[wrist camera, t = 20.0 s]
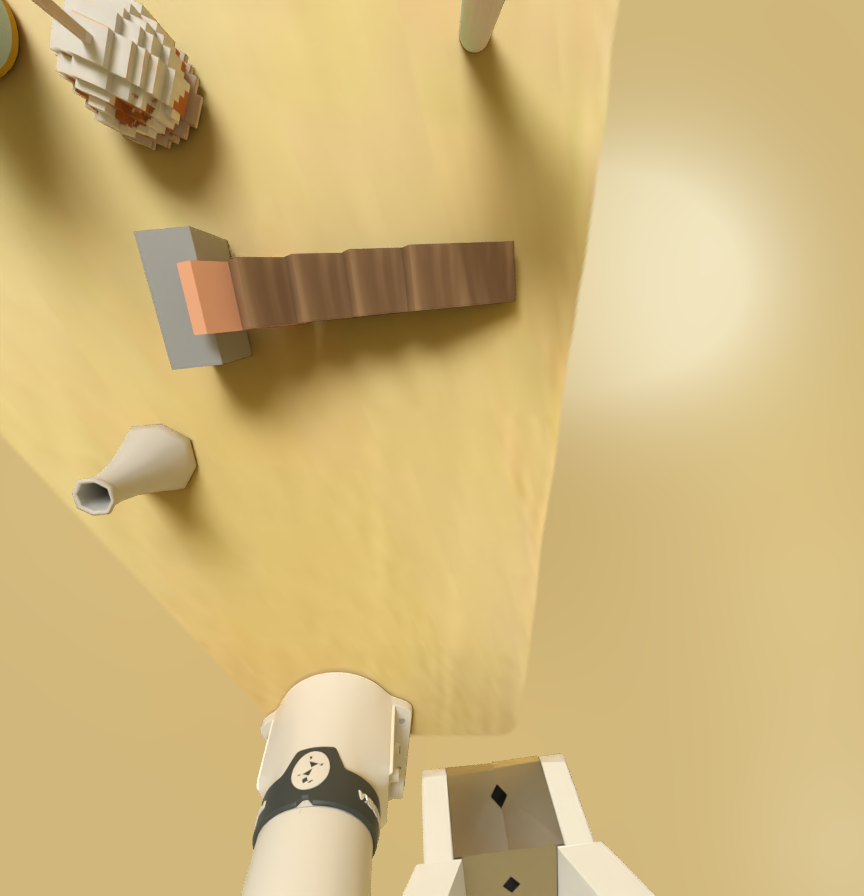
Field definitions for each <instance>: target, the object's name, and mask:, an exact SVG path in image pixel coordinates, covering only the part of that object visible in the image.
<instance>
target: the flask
mask: <svg viewBox="0 0 864 896" xmlns="http://www.w3.org/2000/svg"><path fill="white" fill-rule="evenodd" d="M196 466H197V465H196V461H195V457H194V453H193V449H192V445H191V441H190V439H189V438H187V437H185V436H184V435H182V434H180V433H178V432H176V431H174V430H172V429H170V428H168V427H167V426H165V425H163V424H157V425H145V426H133V427H132V428H131V429H130V431H129V433H128V434H127V436H126V438H125V440H124V441H123V443H122V445H121V447H120V448H119V450H118V451H117V453H116V454H115V456H114V457H113V459H112V460H111V462H110V463H109V464H108V465H107V466H106V467H105V468H104V469H103V470H102V471H101V472H100V473H99V474H98V475H96V476H94V477H92V478H89V479H80V480H78V481H77V484H76V486H75V488H74V490H73V492H72V495H73V498H74V501H75V503H76V506H77V508H78V509H80V510H82V511H84V512H87V513H89V514H91V515H104V514H110V513H111V512H112V511H113V508H114V506H115V505H116V504H118V503H119V502H121V501H123V500H126V499H128V498H131V497H134V496H137V495H142V494H148V493H154V492H160V491H169V490H177V489H184V488H185V487H186V486H187V484H188V482H189V480H190V478H191V476H192V474H193V472H194V470H195V468H196Z"/></svg>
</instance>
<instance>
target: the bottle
mask: <svg viewBox="0 0 864 896" xmlns="http://www.w3.org/2000/svg"><path fill="white" fill-rule="evenodd" d="M18 43H19V37H18V31H17V26H16V22H15V19H14V16H13V14H12V12H11V10H10V8H9V6H8V4H7V2H6V0H0V77H2V76H4V75H5V74H6V73H7V72H8V71H9V70H10V69H11V68H12V66H13V65H14V63H15V60H16V57H17V55H18Z"/></svg>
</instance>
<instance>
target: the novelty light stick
mask: <svg viewBox="0 0 864 896" xmlns="http://www.w3.org/2000/svg"><path fill="white" fill-rule="evenodd" d="M504 1H505V0H462V6H461V16H460V26H459V39H460V42H461V44H462V46H463V47H464V48H465V49H466V50H467V51H469V52H473V53H476V52H480V51H482V50H483V49H484V48H485V47H486V45H487V44H488V42H489V39H490V37H491V34H492V31H493V29H494V26H495V24H496V21H497V19H498V16H499V14H500V11H501V9H502V6H503V4H504Z"/></svg>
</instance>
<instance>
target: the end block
mask: <svg viewBox="0 0 864 896" xmlns="http://www.w3.org/2000/svg"><path fill="white" fill-rule="evenodd" d="M134 234H135V238H136V241H137V245H138V249H139V252H140V256H141V259H142V263H143V267H144V270H145V274H146V277H147V281H148V285H149V288H150V292H151V295H152V299H153V303H154V306H155V310H156V313H157V317H158V321H159V324H160V328H161V332H162V335H163V339H164V342H165V346H166V350H167V353H168V357H169V360H170V364H171V368H172V370H174V369H184V368H193V367H203V366H212V365H222V364H226V363H229V362H232V361H235V360H239V359H242V358H245V357H249V356H252V352H251V348H250V343H249V339H248V334H247V330H242V331H232V332H222V333H213V334H202V335H194V333H193V329H192V324H191V320H190V316H189V312H188V308H187V304H186V300H185V296H184V292H183V288H182V284H181V280H180V275H179V271H178V267H177V263H180V262H184V261H189V260H196V261H218V262H228V260H230V259H231V257H230V252H229V248H228V243H227V240H225V239H222V238H219V237H217V236H214V235H211V234H209V233H206V232H203V231H201V230H198V229H195V228H193V227H190V226H187V227H176V228H166V229H156V230H146V231H136V232H134Z"/></svg>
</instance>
